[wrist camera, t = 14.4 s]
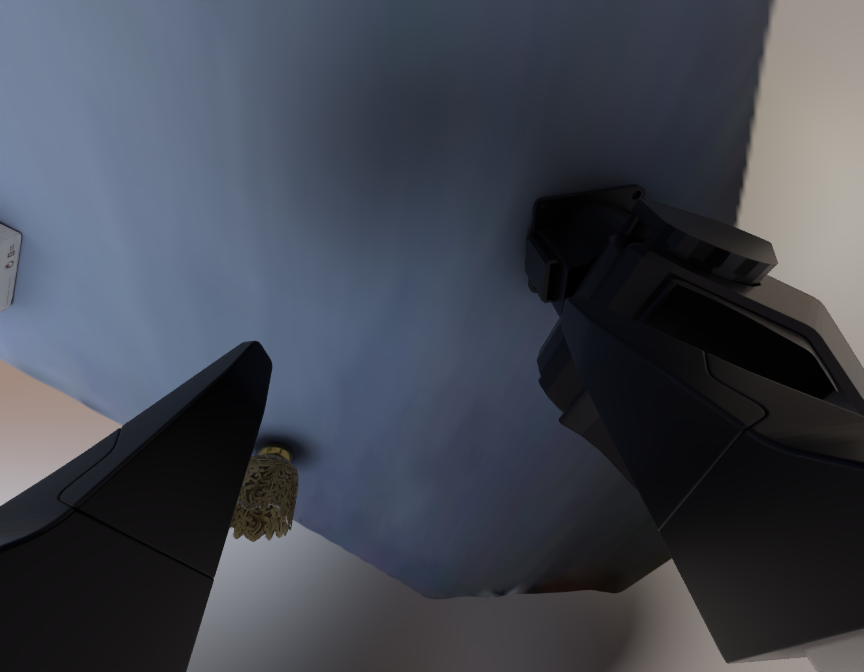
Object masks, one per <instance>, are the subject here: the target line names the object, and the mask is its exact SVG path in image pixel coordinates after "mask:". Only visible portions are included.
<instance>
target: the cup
mask: <svg viewBox="0 0 864 672" xmlns="http://www.w3.org/2000/svg"><path fill="white" fill-rule="evenodd" d="M292 460H293V453H292V450H291V449H290V448H289V447H288V446H286V445H284V444H281V443H268V444H265V445H263V446H262V447H261V448H260V449H259V450H258V452H257V455H256V456H252V457H251V458H250V461H249V465H248V468H247V471H246V474H245V478H244V481H243V484H242V488H241V491H240V494H239V498H238V501H237V504H236V508H235V511H234V514H233V518H232V521H231V524H230V527H229V528H231V527H233V528H234V534H233V536H234V538H235V539H238V538H239V537H241V536H242V535H243V534H244V535H245V537H246V538H247V539H249V540H250V541H252V542H254V541H256V540H257V539H259V538H260V537H261V536H263V535H264V534H266V537H267V539H268V540H271V538H272V536H273V534H274V532H276V536H277V537H279V538H280V537H281V536H282V535H283V534H284V536H286V534H287V532H288V529H289V530H291V527H290V524H291V526H292V520H293V514H294V509H295V503H296V497H297V491H298V473H297V470H296V468H295V466H294V465H293V464H292V463H291V461H292Z"/></svg>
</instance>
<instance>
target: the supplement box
mask: <svg viewBox="0 0 864 672" xmlns="http://www.w3.org/2000/svg"><path fill="white" fill-rule="evenodd" d="M21 237H22V236H21V234H20V233H18V232H16V231H14V230H12V229H10V228H8V227H6V226H4V225H2V224H0V312H1V311H3V310H5V309H6V308H8V307H9V306H10V305H11V301H12V296H13V290H14V285H15V277H16V272H17V265H18V260H19V252H20V245H21Z"/></svg>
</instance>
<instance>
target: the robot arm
mask: <svg viewBox="0 0 864 672" xmlns="http://www.w3.org/2000/svg"><path fill="white" fill-rule="evenodd" d="M636 191H637V194H636V196H635V197H633V198H632V195H633V193H634V192H636ZM644 195H645V189H644V188H643V187H641V186H639V185H630V186H623V187H616V188H609V189H602V190H595V191H588V192H581V193H575V194H568V195H561V196H554V197H547V198H541V199H539V200H538V201H536V203H535V204H534V208H533V223H532V233H530V234H529V235H528V237H527V245H526V263H525V271H526V273H527V275H528V277H529V283H528V286H529V288H530V290H531V291H532V292H534V293H538V295H539V297H540V298H541V300H542V301H543V302H545V303H549V302H551V303H552V305H553V307H554V308H555V310H556V312H557V313H558V315H559V317H560V318H559V320H558V321H557V323H556V325H555V326H554V328H553V330H552V331H551V333H550V334H549V336H548V338H547V339H546V341H545V343H544V344H543V346H542V347H541V349H540V351H539V355H538V358H537V363H538V367H539V372H540V375H541V377H540V378H539V384H540V385H541V387H542V389H543V390H544V392H545V393H546V395H547V396H548V398H549V399H550V400H551V401H552V402H553V403H554V404H555V405H556V407H557V408H558V409H560V410H561V411H562V412H563V414H562V415H561V417H560V418H559V422H560V423H561V424H562V425H564V426H565V427H567V428H569V429H571V430H572V431H574V432H576V433H578V434H579V435H581V436H582V437H584V438H585V439H586V440H587V441H589V442H590V443H591V444H592V445H594V446H595V447H596V448H597V449H599V450H600V451H601V452H602V453H603V454H604V455H605V456H606V457H607V458H608V459H609V460H610V461H611V463H612V464H613V465H614V466H615V467H616V468H617V469H618V470H619V471H620V472H621V473H622V475H623V476H624V477H625V478H626V479H627V480H628V481H629V482H630V483H631V484H632V485H633V486H634V487H635V488H636V489H637V490H638V492H639V494H640V496H641V498H642V499H643V501H644V503H645V505H646V507H647V509H648V511H649V513H650V515H651V517H652V519H653V521H654V523H655V525H656V527H657V529H658V530H659V531H660V532H659V533H660V535H661V537H662V539H663V541H664V543H665V545H666V547H667V549H668V551H669V553H670V555H671V557H672V559H673V561H674V563H675V565H676V567H677V569H678V571H679V573H680V574H681V577H682V578H683V580H684V582H685V584H686V586H687V588H688V590H689V592H690V594H691V596H692V598H693V600H694V602H695V604H696V606H697V608H698V610H699V612H700V614H701V616H702V618H703V620H704V622H705V624H706V626H707V628H708V630H709V632H710V633H711V635H712V637H713V639H714V641H715V643H716V645H717V647H718V649H719V651H720V653H721V655H722V656H723V658H724V660H725V661H726V663H728V664H730V663H742V662H754V661H766V660H776V659H789V658H800V657H807V658H808V659H809V661H810V662H811V663H812V665H813V666H814V668H815V669H816V671H817V672H864V368H863V367H862V365H861V363H860V362H859V360H858V359H857V357H856V355H855V354H854V352H853V351H852V349H851V348H850V346H849V344H848V343H847V341H846V340H845V338H844V336H843V335H842V333H841V332H840V330H839V328H838V327H837V325H836V324H835V322H834V320H833V319H832V317H831V316H830V314H829V313H828V311H827V309H826V308H825V306H824V305H823V304H822V303H821V302H820V301H819V300H818V299H816V298H814V297H813V296H810V295H808V294H806V293H804V292H802V291H800V290H798V289H796V288H794V287H791V286H789V285H787V284H785V283H783V282H781V281H779V280H777V279H775V278H772V277H770V276H768V275H767V274H768V273H769V272H770V271H771V270H772V269H773V268H774V267H775V266H776V265H777V264H778V262H777V259H776V256H775V253H774V250H773V247H772V244H771V243H770V242H768V241H766V240H764V239H762V238H759V237H757V236H754V235H752V234H750V233H747V232H745V231H742V230H740V229H738V228H736V227H733V226H731V225H729V224H726V223H724V222H721V221H717V220H714V219H710V218H707V217H704V216H700V215H697V214H693V213H690V212H687V211H683V210H680V209H676V208H673V207H670V206H666V205H663V204H659V203H656V202H652V201H649V200H646V199H644ZM543 204H546V207H545V209H544V210H542V211H540V210H539V209H540V207H541V205H543ZM533 286H534V287H533ZM271 372H272V362H271V359H270V358H269V356H268V355H267V353H266V351H265V350H264V348H263V347H262V345H261V344H260V343H259V342H258V341H249V342H243V343H241V344H240V345H238V346H237V347H235V348H234V349H232V350H231V351H230V352H228V353H227V354H225V355H224V356H222V357H221V358H219V359H218V360H217V361H215V362H214V363H212V364H211V365H209V366H208V367H207V368H205V369H204V370H202V371H201V372H199V373H198V374H196V375H195V376H194V377H192V378H191V379H189V380H188V381H186V382H185V383H184V384H182V385H181V386H179V387H178V388H176V389H175V390H173V391H172V392H171V393H169V394H168V395H166V396H165V397H163V398H162V399H161V400H159V401H158V402H156V403H155V404H153V405H152V406H150V407H149V408H148V409H146V410H145V411H143V412H142V413H140V414H139V415H138V416H136V417H135V418H133V419H132V420H130V421H129V422H128V423H126V424H125V425H123V426H122V428H119V429H117V430H116V431H115V432H113V433H112V434H110V435H109V436H108V437H106V438H104V439H103V440H102V441H100V442H99V443H97V444H96V445H94V446H93V447H92V448H90V449H88V450H87V451H85V452H84V453H82V454H81V455H80V456H78V457H76V458H75V459H73V460H72V461H70V462H69V463H67V464H66V465H64V466H63V467H61V468H59V469H58V470H56V471H55V472H53V473H52V474H50V475H49V476H47V477H46V478H44V479H42V480H41V481H39V482H38V483H36V484H35V485H33V486H32V487H30V488H28V489H27V490H25V491H24V492H22V493H20V494H19V495H18V496H16V497H14V498H13V499H11V500H9V501H8V502H6V503H5V504H3V505H2V506H0V672H186V671H187V667H188V664H189V660H190V657H191V654H192V651H193V647H194V644H195V641H196V637H197V634H198V631H199V627H200V624H201V621H202V617H203V614H204V611H205V608H206V604H207V601H208V598H209V594H210V591H211V588H212V584H213V581H214V579H213V578H214V576H215V574H216V570H217V567H218V564H219V561H220V557H221V554H222V550H223V547H224V544H225V541H226V537H227V534H228V531H229V527H230V524H231V521H232V518H233V514H234V511H235V508H236V504H237V501H238V498H239V494H240V491H241V488H242V484H243V481H244V478H245V474H246V471H247V468H248V465H249V461H250V458H251V455H252V451H253V448H254V445H255V441H256V438H257V435H258V431H259V428H260V425H261V421H262V418H263V414H264V410H265V406H266V400H267V395H268V389H269V384H270V378H271Z"/></svg>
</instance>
